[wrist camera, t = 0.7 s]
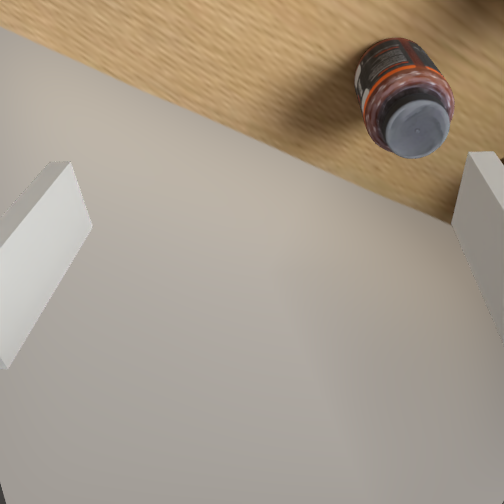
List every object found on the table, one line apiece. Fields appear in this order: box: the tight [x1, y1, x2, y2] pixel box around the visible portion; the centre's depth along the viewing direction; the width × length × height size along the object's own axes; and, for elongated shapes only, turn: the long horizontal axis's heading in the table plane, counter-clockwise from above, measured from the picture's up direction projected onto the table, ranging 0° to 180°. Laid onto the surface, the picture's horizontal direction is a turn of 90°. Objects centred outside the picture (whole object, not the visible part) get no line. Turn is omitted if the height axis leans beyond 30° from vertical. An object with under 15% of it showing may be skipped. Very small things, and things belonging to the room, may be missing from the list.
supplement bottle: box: [354, 38, 454, 159], centre depth 34 cm, size 6×6×11 cm
